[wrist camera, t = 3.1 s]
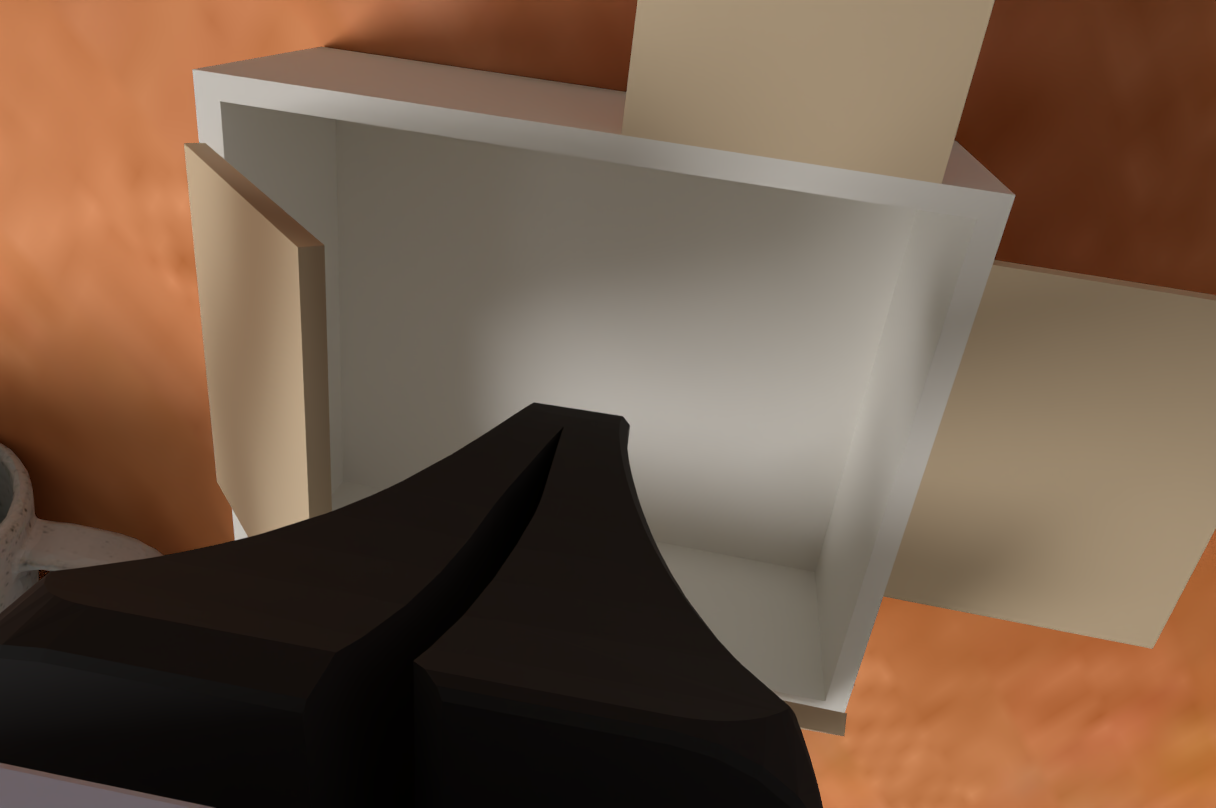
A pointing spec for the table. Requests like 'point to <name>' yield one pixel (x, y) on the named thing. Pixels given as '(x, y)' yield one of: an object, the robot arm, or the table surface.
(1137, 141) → the table surface
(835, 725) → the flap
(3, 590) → the ceramic mug
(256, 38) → the table surface
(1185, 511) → the carton
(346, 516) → the robot arm
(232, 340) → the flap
